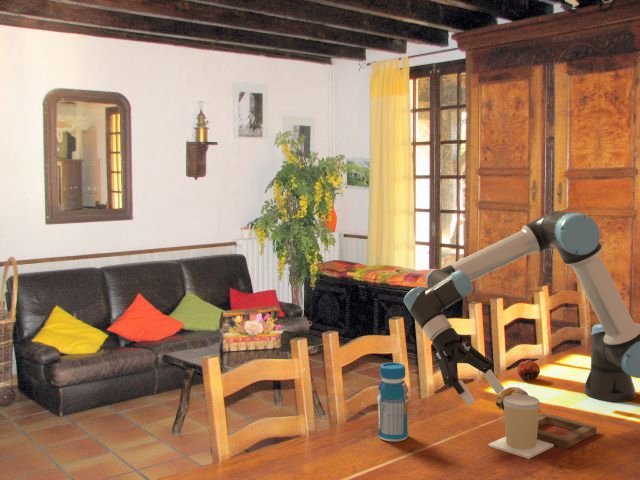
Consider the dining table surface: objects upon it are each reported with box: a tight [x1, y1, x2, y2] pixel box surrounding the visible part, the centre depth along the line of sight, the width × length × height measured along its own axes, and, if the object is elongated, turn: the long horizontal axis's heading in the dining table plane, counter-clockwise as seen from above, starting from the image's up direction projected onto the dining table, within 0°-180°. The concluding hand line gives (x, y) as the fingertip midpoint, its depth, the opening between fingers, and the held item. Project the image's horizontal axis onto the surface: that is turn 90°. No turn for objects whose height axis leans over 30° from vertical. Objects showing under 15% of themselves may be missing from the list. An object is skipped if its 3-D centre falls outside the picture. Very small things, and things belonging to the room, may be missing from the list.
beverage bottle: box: [376, 362, 409, 443], centre depth 200 cm, size 8×8×20 cm
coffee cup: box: [503, 394, 541, 449], centre depth 193 cm, size 9×9×12 cm
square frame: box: [537, 412, 597, 449], centre depth 203 cm, size 16×16×2 cm
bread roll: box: [495, 386, 530, 411], centre depth 225 cm, size 10×10×8 cm
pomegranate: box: [517, 359, 541, 384], centre depth 253 cm, size 7×7×10 cm
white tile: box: [488, 436, 555, 460], centre depth 193 cm, size 12×12×1 cm
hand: (486, 397), depth 200 cm, fingers open, 13 cm apart
